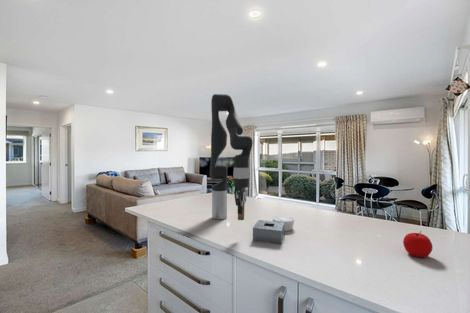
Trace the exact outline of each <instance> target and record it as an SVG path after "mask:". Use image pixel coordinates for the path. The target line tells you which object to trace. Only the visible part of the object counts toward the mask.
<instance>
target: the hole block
mask: <svg viewBox="0 0 470 313" xmlns="http://www.w3.org/2000/svg"><path fill="white" fill-rule="evenodd" d="M284 237H285V231H284V222H275V221H273V220H264V219H263V220H262V219H257V221H256V223H255V224H254V225H253V227H252V241H253V242H261V243H266V244H267V243H268V244H269V243H270V244H278V245H282V243H283V240H284Z"/></svg>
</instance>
